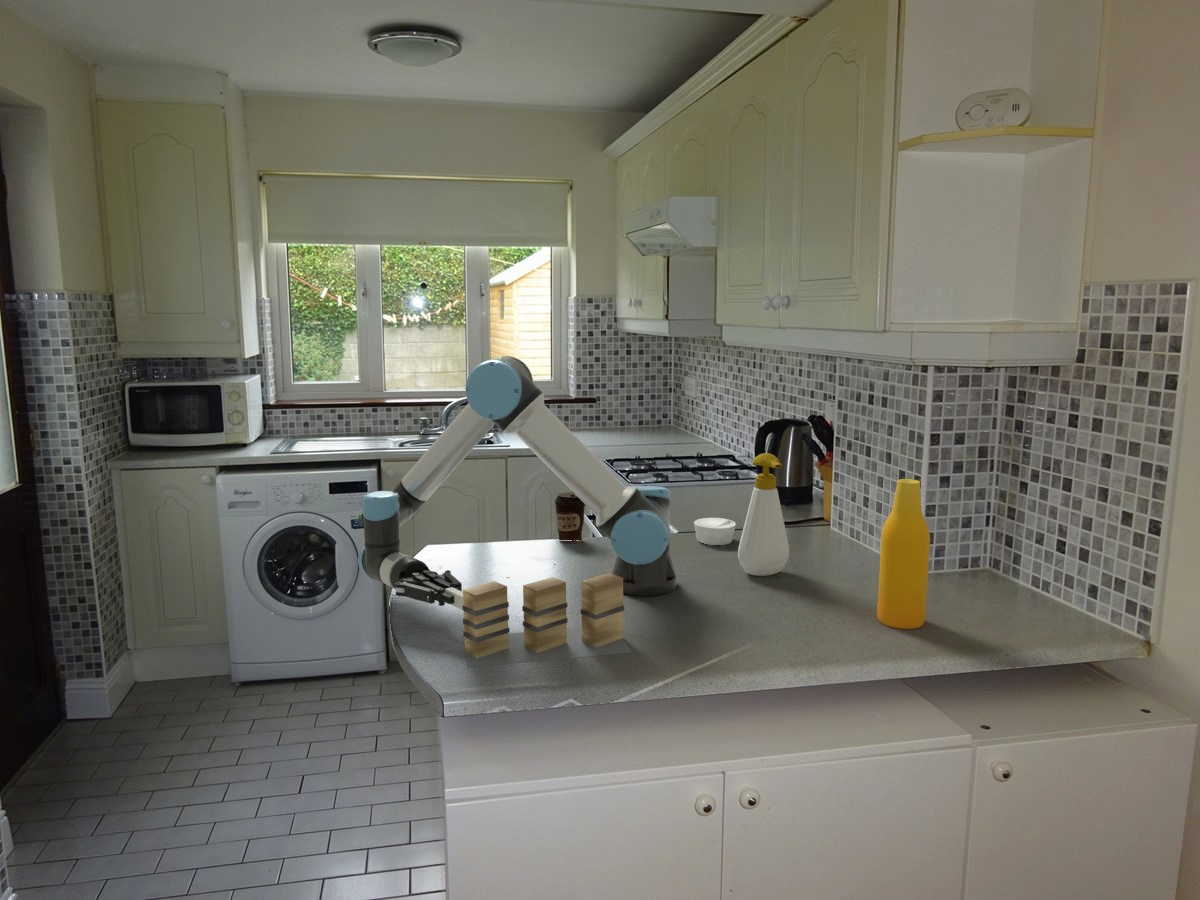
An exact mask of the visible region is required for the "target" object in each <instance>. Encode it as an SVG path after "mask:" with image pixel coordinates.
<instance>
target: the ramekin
mask: <svg viewBox="0 0 1200 900" xmlns="http://www.w3.org/2000/svg"><path fill="white" fill-rule="evenodd" d="M693 526H694V530H695V531H694V532H695V537H696V540H697V541H698V543H700V542H701V544H702V543H704V544H703V545H705V544H709V545H708V546H712V545H721V546H726V544H727V545H729V544H731V542H732V541H733V540H734V536H735V535H734V534H735V529H736V527H737V523H736V522H735V521H734V520H732V519H731V520H730V519H728V518H724V517H723V518H722V517H702V518H698V519H696V520H694V521H693Z"/></svg>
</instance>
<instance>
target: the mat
mask: <svg viewBox="0 0 1200 900" xmlns="http://www.w3.org/2000/svg"><path fill="white" fill-rule="evenodd" d="M508 639H509V648H507V649H504V650H501V651H498V652H495V653H492V654H489V655H486V656H483V657H480V658H476V657H474V656H472V655H470V654H468V653H467V652H465V651H464V652H465V659H466V667H467V668H476V667H488V666H498V665H499V666H500V665H510V664H521V663H532V662H544V661H553V660H565V659H566V660H567V659H574V658H575V659H577V658H586V657H587V658H588V657H599V656H608V655H619V654H630V653H632V650H631V649H630V647H629V645H628V643H627V642H626V640H625V639H624V637H623V638H621V639H619V640H616V641H613V642H610V643H608V644H605V645H602V646H599V647H597V648H596V647H593V646H591V645H589V644H587V643H584V642H582V626H581V627H569V628H567V643H565V644H562V645H559V646H556V647H553V648H550V649H547V650H544V651H542V652H539V653H537V652H535V651H532V650H530V649H528V648H526V647H524V631H521V632H509V633H508ZM463 643H464V645H463V646H464V647H465V637H464V636H463Z"/></svg>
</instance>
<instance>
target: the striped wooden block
mask: <svg viewBox="0 0 1200 900" xmlns="http://www.w3.org/2000/svg"><path fill="white" fill-rule="evenodd" d="M462 592H463V606H462V609H463V610H462V612H463V618H462V623H463V629H464V630H463V637H465V646H464V652H467V653H468V654H470V655H472V656H474V657H476V658H480V657H483V656H486V655H489V654H492V653H495V652H498V651H501V650H504V649H507V648H509V639H508V634H509V633H510V627H509V620H510V615H509V609H508V608H509V605H510V603H509V600H508V586H507V585H505V584H501V583H500V582H498V581H495V580H494V581H490V582H487V583H483V584H479V585H475V586H472V587H469V588H468V587H467V588H464V589H462Z"/></svg>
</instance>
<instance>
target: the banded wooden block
mask: <svg viewBox="0 0 1200 900" xmlns="http://www.w3.org/2000/svg"><path fill="white" fill-rule="evenodd" d="M580 582H581V583H580V585H581V587H580V588H581V589H580V590H581V608H580V614H581V627H582V642H584V643H587V644H589V645H591V646H593V647H596V648H597V647H599V646H602V645H605V644H608V643H610V642H613V641H616V640H619V639H621V638H623V639H624V611H625V605H624V593H623V578H622V577H619V576H616V575H613V574H611V573H610V572H607V573H605V574H601V575H597V576H594V577H591V578H587V579H584V580H581V581H580Z"/></svg>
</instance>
